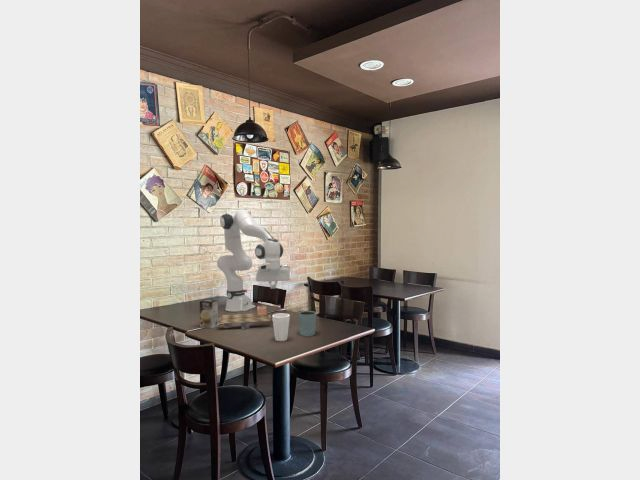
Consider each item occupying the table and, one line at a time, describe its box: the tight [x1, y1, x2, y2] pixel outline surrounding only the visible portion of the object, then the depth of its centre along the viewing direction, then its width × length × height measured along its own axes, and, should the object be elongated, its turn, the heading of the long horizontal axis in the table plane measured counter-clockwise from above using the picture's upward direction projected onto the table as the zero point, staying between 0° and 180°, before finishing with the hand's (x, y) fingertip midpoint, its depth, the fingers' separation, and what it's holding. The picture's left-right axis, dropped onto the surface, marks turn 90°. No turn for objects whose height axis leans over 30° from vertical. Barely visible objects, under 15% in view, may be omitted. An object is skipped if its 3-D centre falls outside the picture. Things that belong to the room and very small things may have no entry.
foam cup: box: [271, 312, 291, 342], centre depth 212 cm, size 10×9×13 cm
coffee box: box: [199, 298, 219, 329], centre depth 238 cm, size 9×6×16 cm
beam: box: [218, 312, 272, 330], centre depth 235 cm, size 30×8×8 cm, turn 102°
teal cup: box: [298, 310, 317, 337], centre depth 222 cm, size 10×10×12 cm
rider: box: [256, 305, 267, 315], centre depth 237 cm, size 5×6×6 cm
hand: (273, 288), depth 238 cm, fingers closed
